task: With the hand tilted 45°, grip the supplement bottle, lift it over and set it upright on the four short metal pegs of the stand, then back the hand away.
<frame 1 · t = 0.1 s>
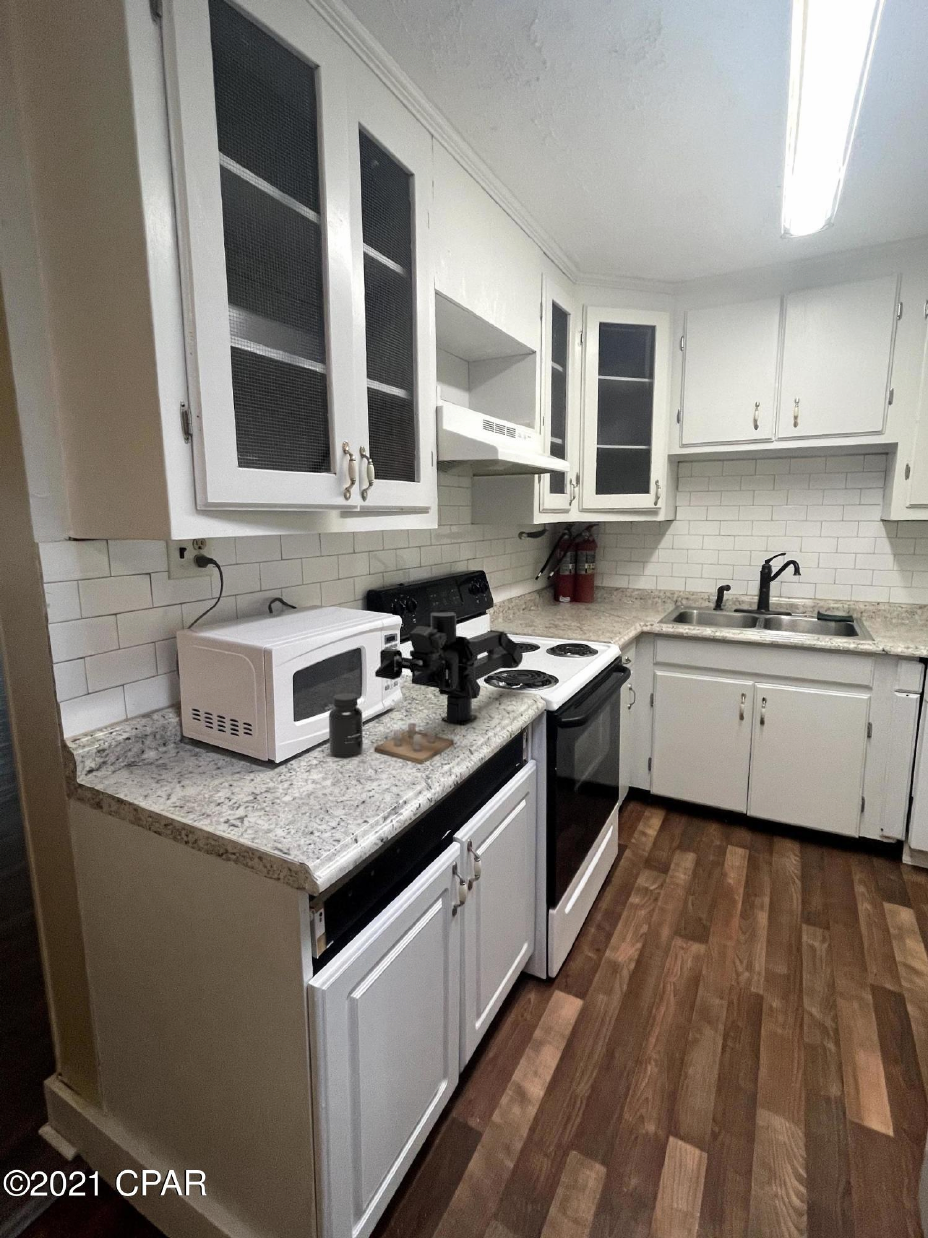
hand: (393, 677, 118), 17 cm above the counter, tool horizontal, fingers open, 9 cm apart
peg stand: (414, 748, 125), on the counter
supplement bottle: (346, 752, 123), on the counter
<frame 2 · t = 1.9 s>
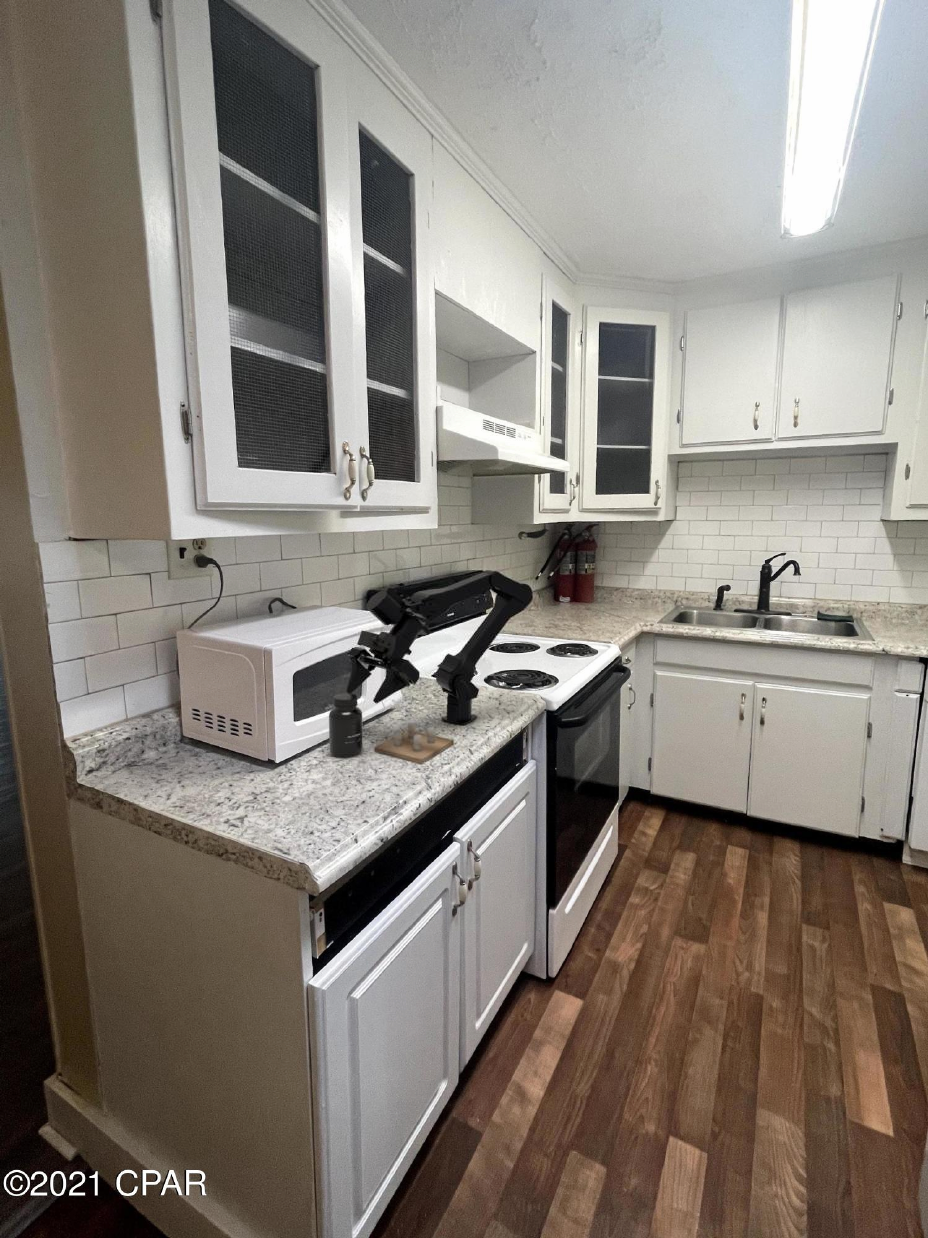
hand: (360, 697, 124), 11 cm above the counter, tool tilted 45°, fingers open, 9 cm apart
nothing on the counter moved.
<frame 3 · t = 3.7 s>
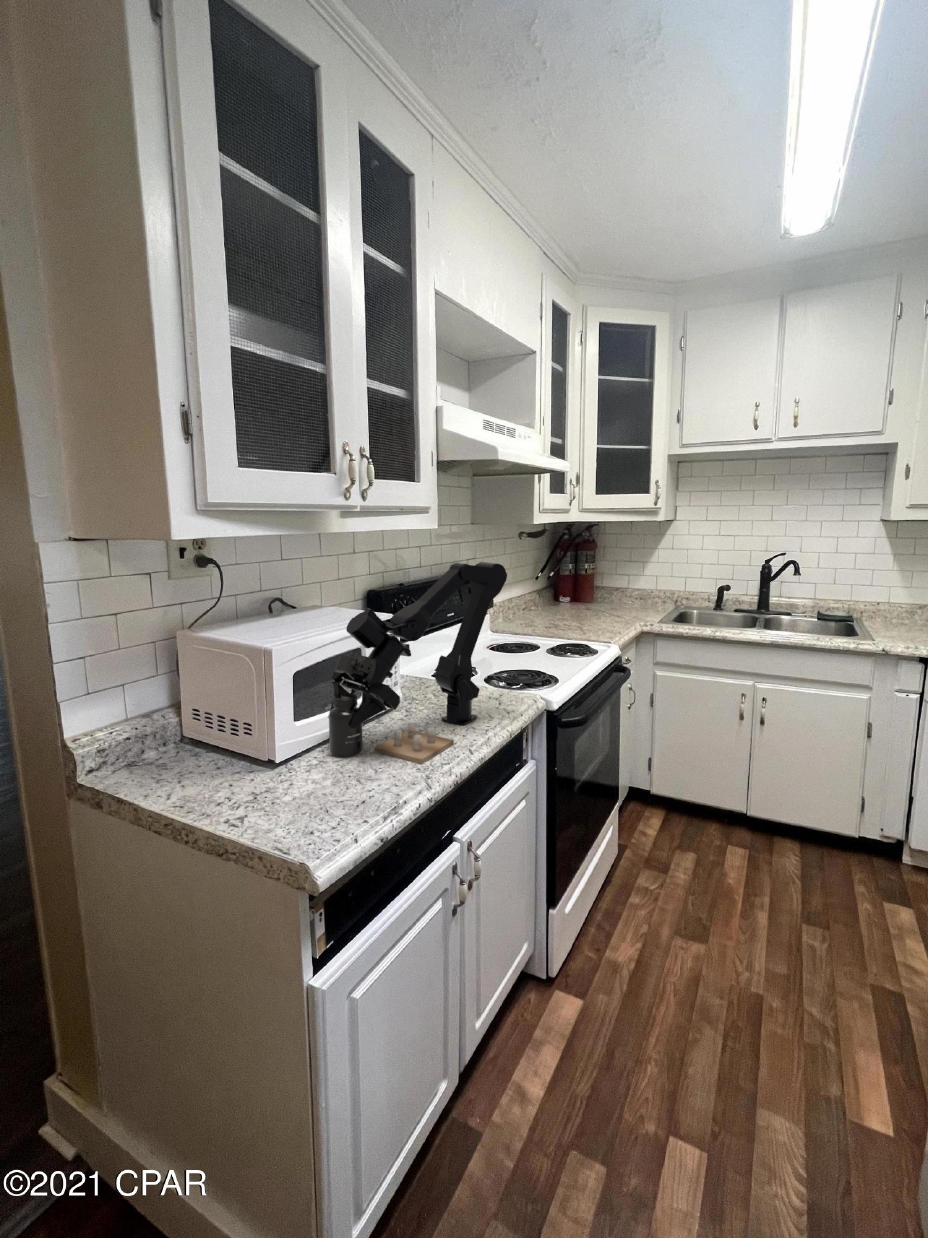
hand: (340, 723, 120), 7 cm above the counter, tool tilted 45°, fingers closed on supplement bottle, 7 cm apart
supplement bottle: (346, 752, 123), on the counter, touching gripper
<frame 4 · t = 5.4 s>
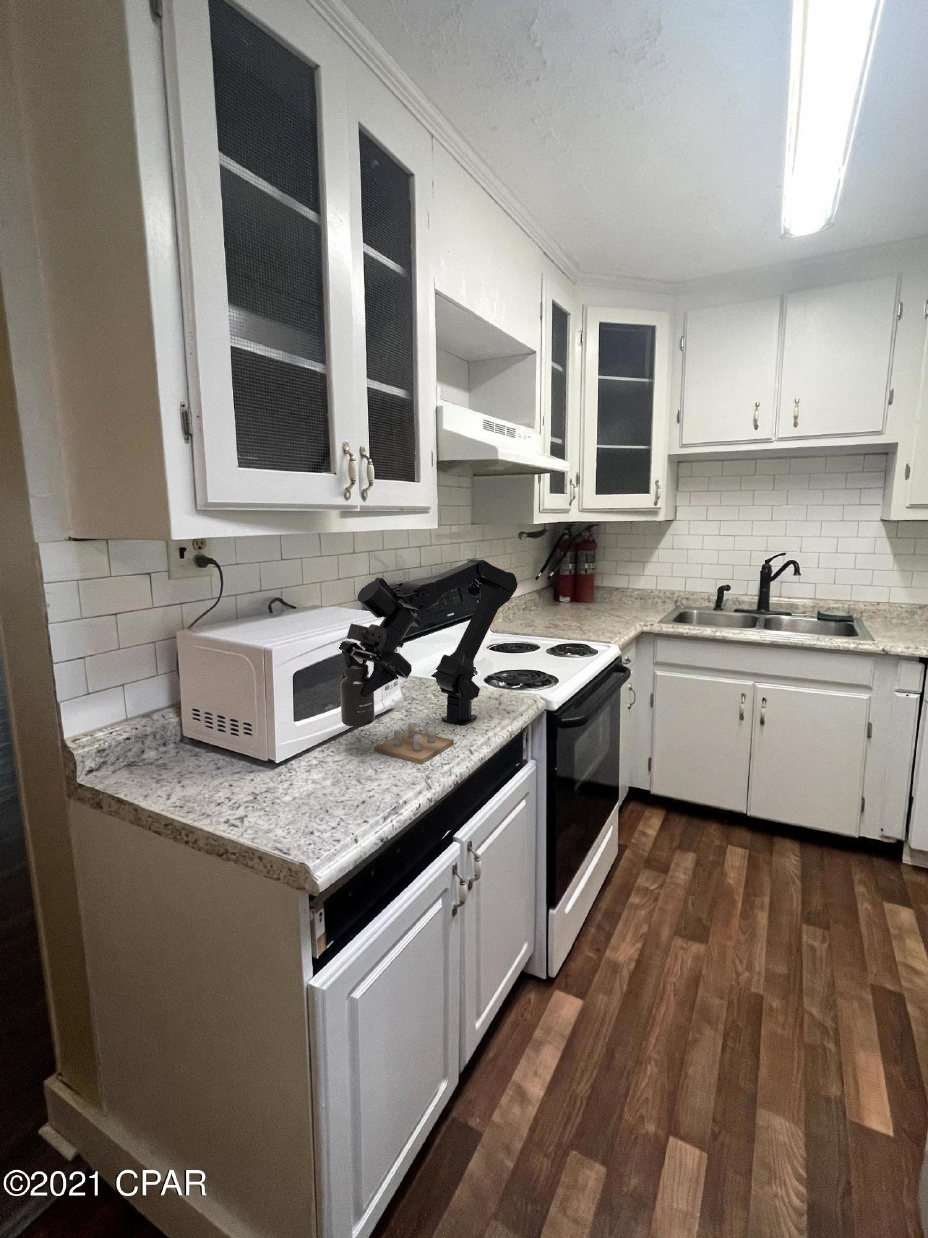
hand: (351, 692, 120), 13 cm above the counter, tool tilted 45°, fingers closed on supplement bottle, 7 cm apart
supplement bottle: (358, 722, 122), point 6 cm above the counter, touching gripper
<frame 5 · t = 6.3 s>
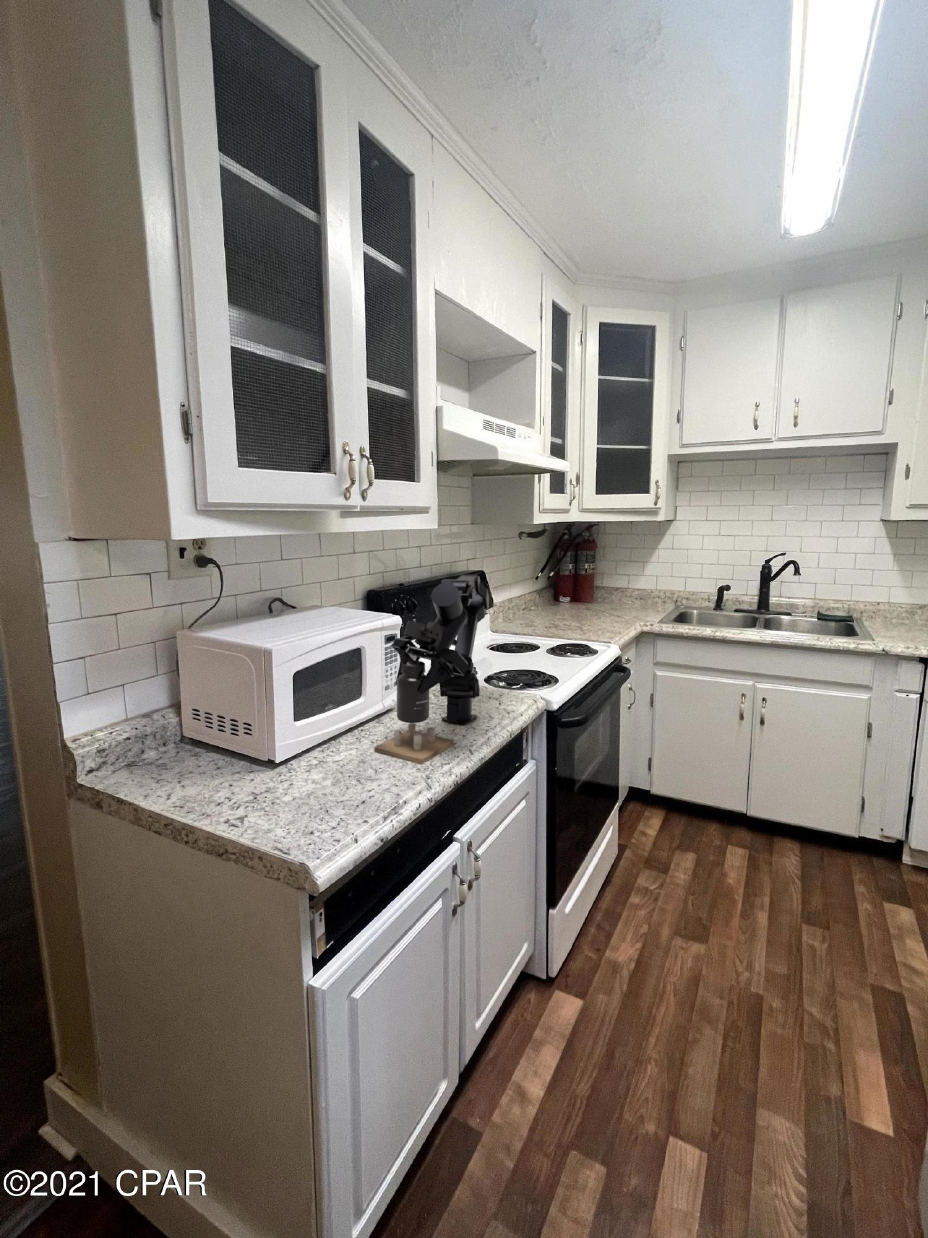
hand: (408, 689, 122), 13 cm above the counter, tool tilted 45°, fingers closed on supplement bottle, 7 cm apart
supplement bottle: (413, 718, 124), point 6 cm above the counter, touching gripper
when the fingers open (12 cm above the counter, at t = 7.1 s): supplement bottle drops 1 cm, resting on peg stand.
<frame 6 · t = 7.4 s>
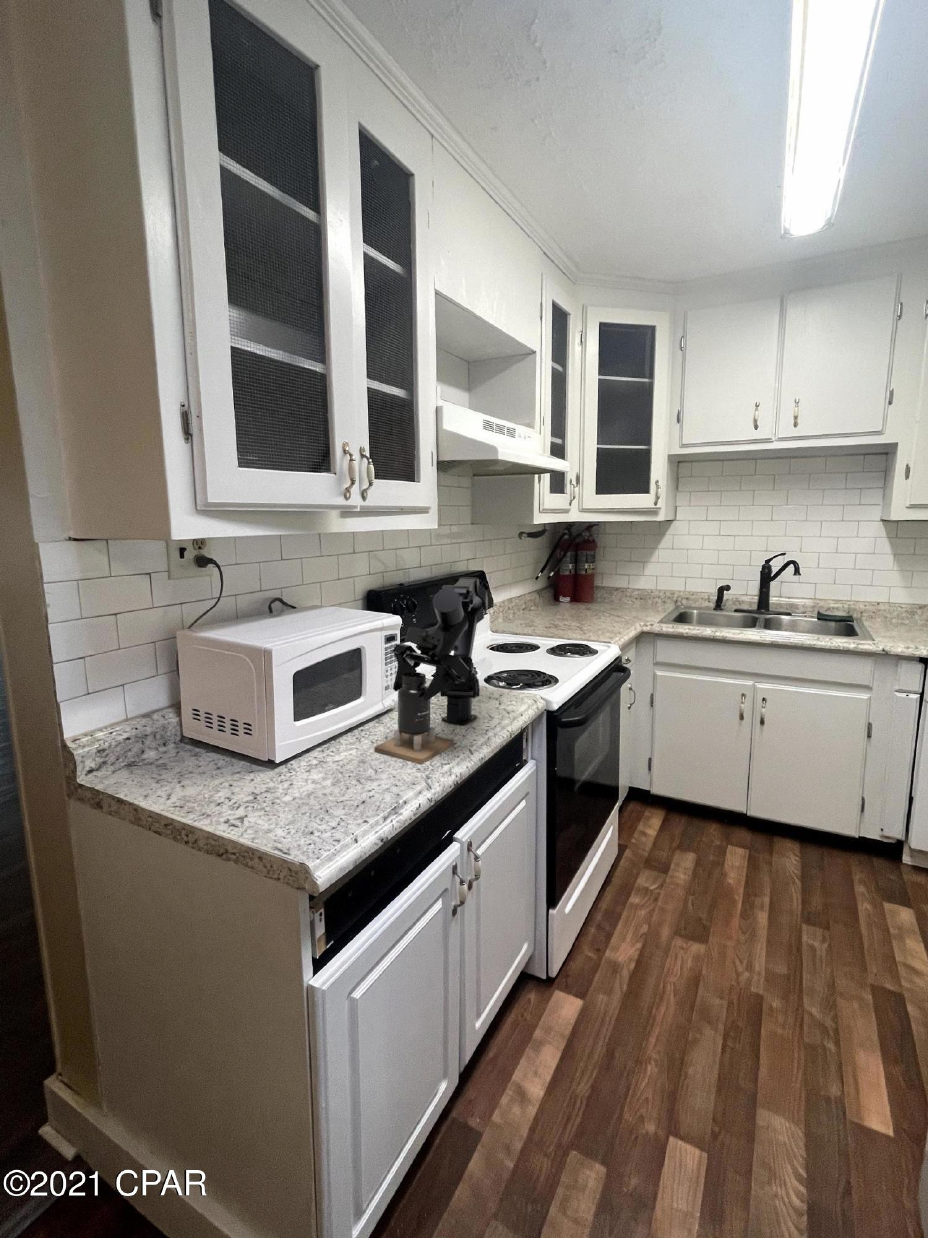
hand: (409, 694, 122), 12 cm above the counter, tool tilted 45°, fingers open, 9 cm apart
supplement bottle: (414, 730, 124), point 4 cm above the counter, touching peg stand
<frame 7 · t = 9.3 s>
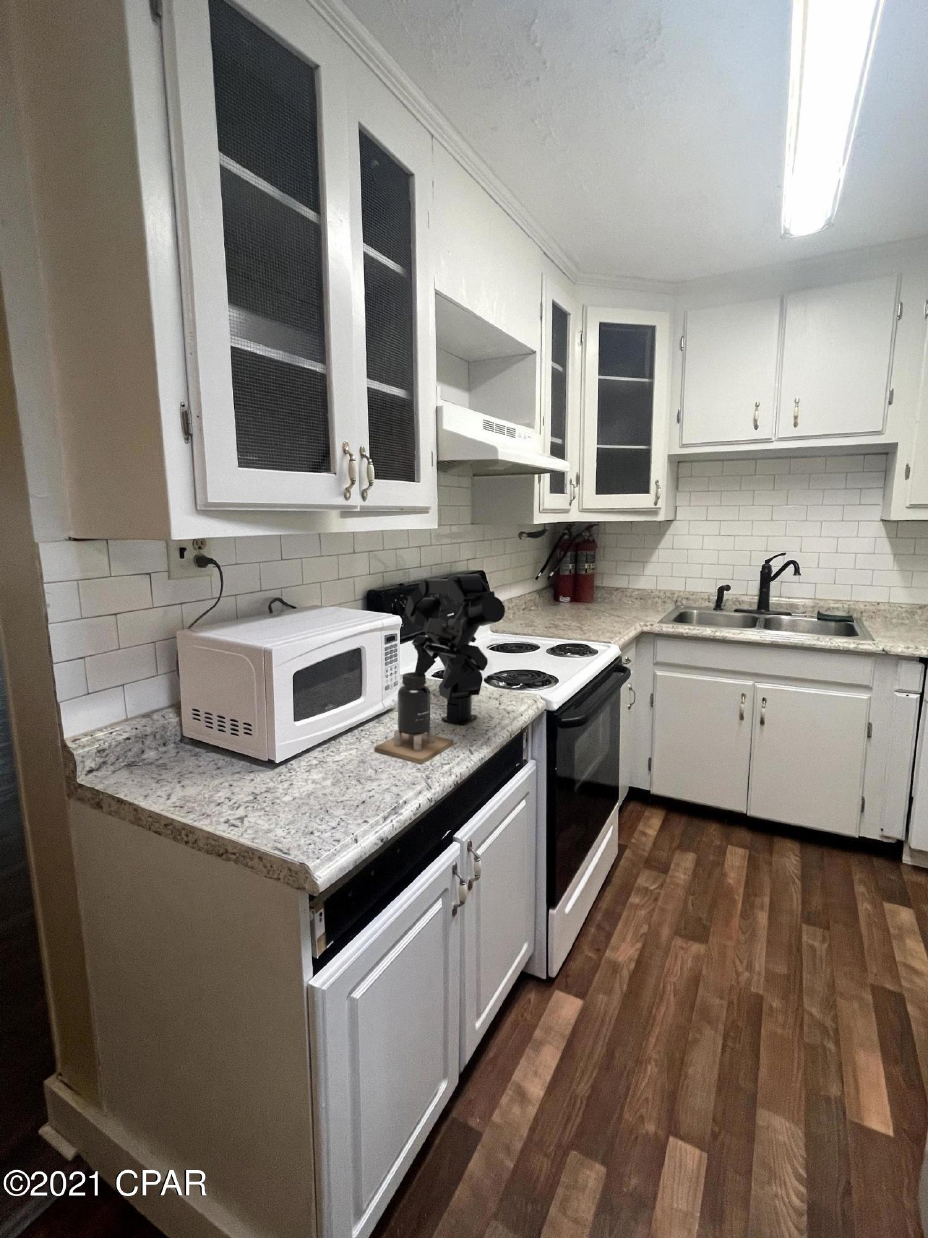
hand: (429, 684, 126), 13 cm above the counter, tool tilted 45°, fingers open, 9 cm apart
nothing on the counter moved.
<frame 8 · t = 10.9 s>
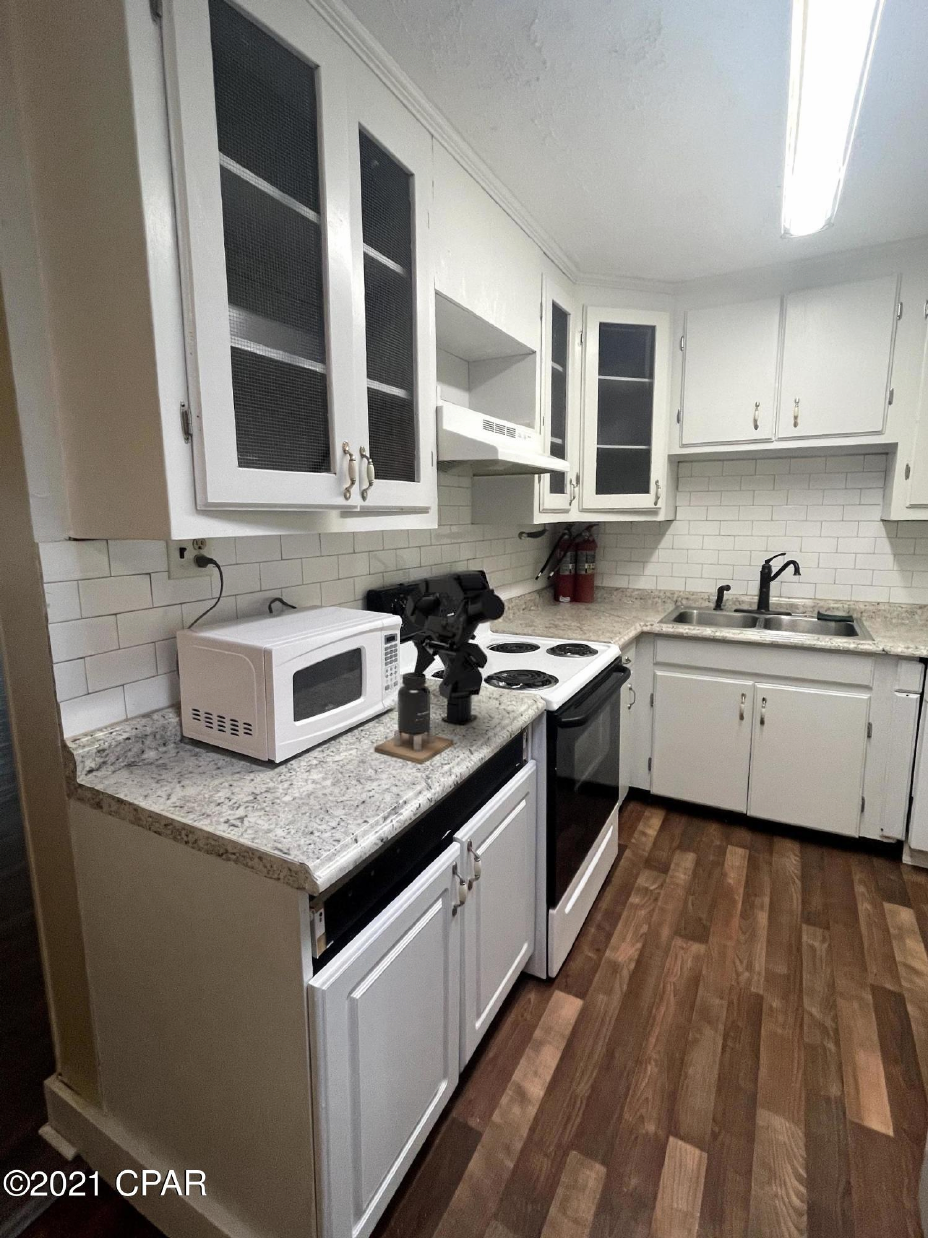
hand: (429, 681, 126), 14 cm above the counter, tool tilted 45°, fingers open, 9 cm apart
nothing on the counter moved.
at the end: supplement bottle 0.3 cm off-centre on the peg stand, point 3.8 cm above the peg stand's base; supplement bottle tilted 0°; the gripper is holding nothing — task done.
